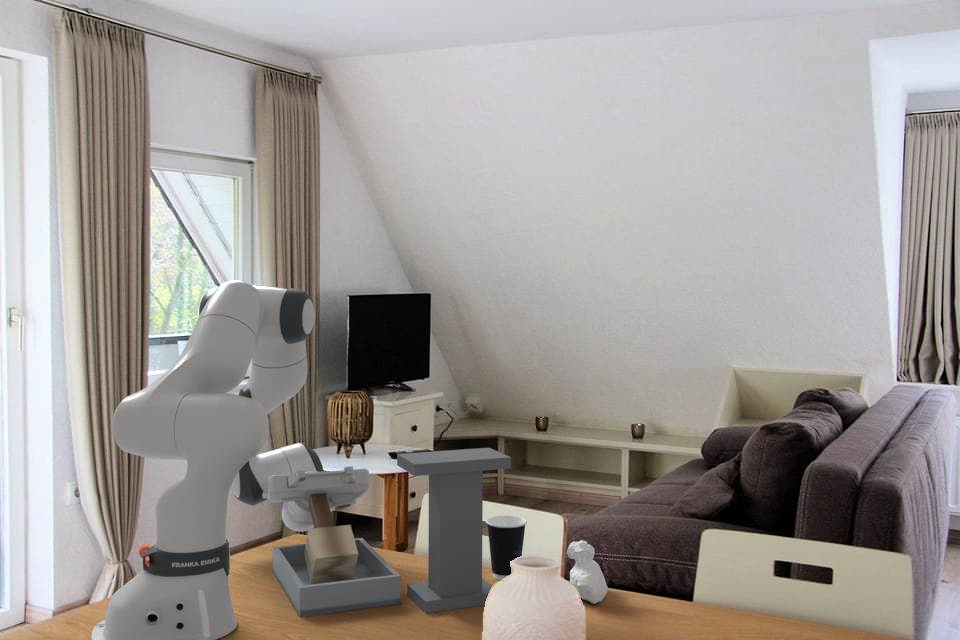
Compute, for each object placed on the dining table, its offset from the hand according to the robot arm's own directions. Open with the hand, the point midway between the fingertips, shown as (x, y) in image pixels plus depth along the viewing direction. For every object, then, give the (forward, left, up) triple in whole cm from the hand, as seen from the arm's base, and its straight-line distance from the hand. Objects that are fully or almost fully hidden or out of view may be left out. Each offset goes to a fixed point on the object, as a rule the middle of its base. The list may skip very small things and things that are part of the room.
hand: (325, 472), depth 181 cm
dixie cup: (+32, -12, -21) cm, 40 cm away
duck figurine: (+41, -28, -21) cm, 54 cm away
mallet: (0, +2, -14) cm, 14 cm away
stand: (+18, -20, -20) cm, 34 cm away
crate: (0, -6, -20) cm, 21 cm away
